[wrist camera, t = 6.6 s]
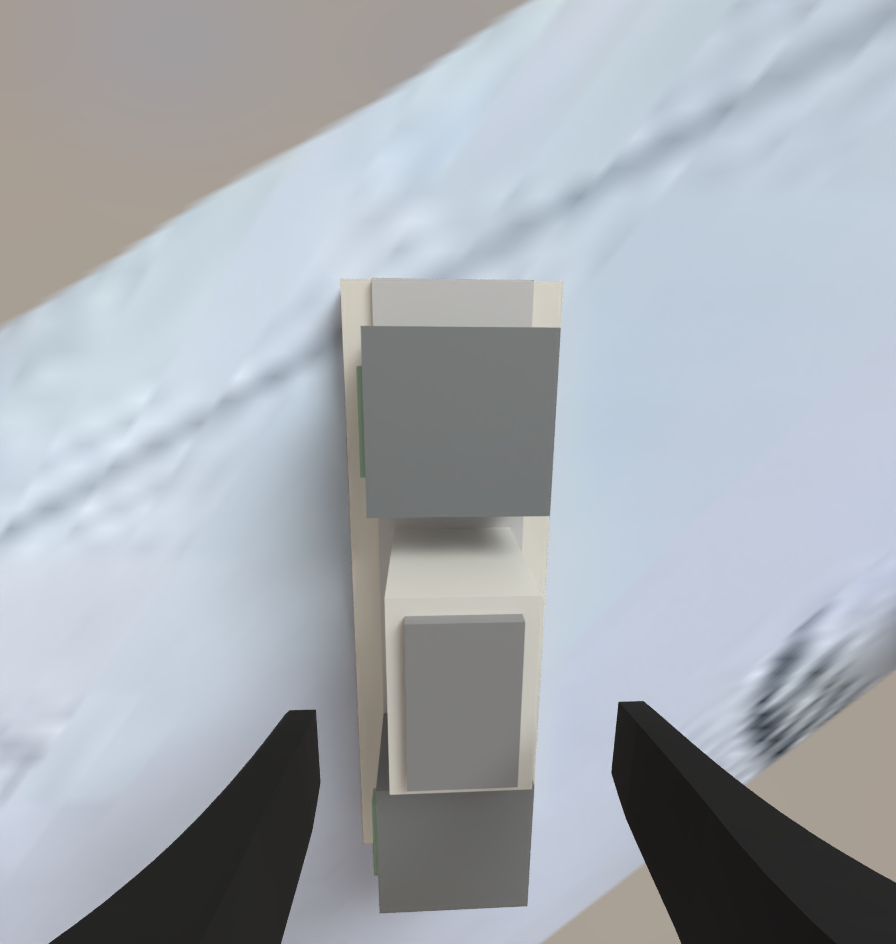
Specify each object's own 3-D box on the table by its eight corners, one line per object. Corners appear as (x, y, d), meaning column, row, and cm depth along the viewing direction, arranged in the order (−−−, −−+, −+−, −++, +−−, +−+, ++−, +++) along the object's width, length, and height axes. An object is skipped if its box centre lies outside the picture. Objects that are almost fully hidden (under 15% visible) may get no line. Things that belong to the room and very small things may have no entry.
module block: (509, 527, 18) (546, 603, 13) (504, 678, 20) (534, 801, 14) (394, 528, 18) (383, 606, 13) (397, 680, 19) (388, 807, 14)
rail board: (554, 285, 18) (604, 264, 13) (525, 811, 23) (553, 937, 18) (345, 282, 17) (316, 260, 12) (366, 818, 23) (351, 948, 18)
